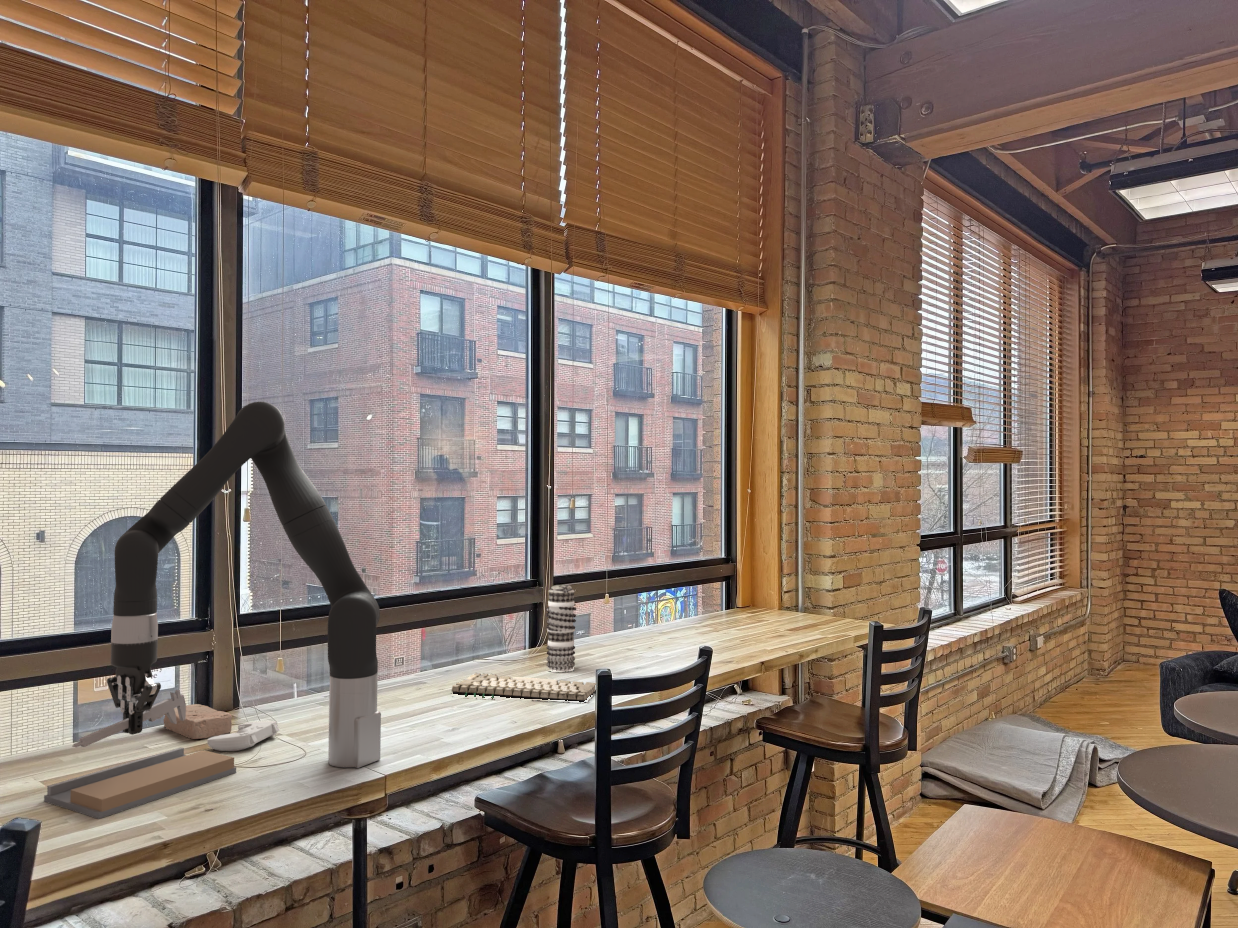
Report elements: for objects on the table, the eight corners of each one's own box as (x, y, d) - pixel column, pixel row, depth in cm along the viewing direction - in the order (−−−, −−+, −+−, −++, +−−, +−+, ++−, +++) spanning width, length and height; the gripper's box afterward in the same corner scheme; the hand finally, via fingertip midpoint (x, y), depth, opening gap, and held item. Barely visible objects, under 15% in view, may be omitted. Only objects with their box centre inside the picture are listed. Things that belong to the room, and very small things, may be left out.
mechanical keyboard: (601, 689, 234) (601, 677, 234) (586, 708, 215) (586, 694, 215) (470, 683, 241) (470, 671, 241) (444, 700, 222) (444, 687, 222)
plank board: (236, 772, 163) (236, 756, 163) (98, 818, 140) (99, 800, 141) (182, 759, 171) (183, 744, 171) (44, 801, 148) (44, 783, 148)
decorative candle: (579, 667, 259) (580, 584, 260) (571, 673, 250) (571, 588, 251) (550, 665, 262) (551, 583, 262) (541, 671, 253) (542, 587, 253)
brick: (161, 728, 193) (161, 707, 193) (198, 720, 200) (199, 700, 200) (195, 743, 183) (195, 721, 183) (233, 734, 189) (233, 713, 189)
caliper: (181, 720, 167) (182, 687, 167) (185, 721, 167) (186, 688, 167) (71, 748, 149) (72, 711, 149) (75, 749, 148) (76, 712, 149)
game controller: (243, 718, 190) (284, 711, 189) (247, 738, 190) (287, 731, 188) (200, 737, 176) (244, 729, 174) (204, 758, 176) (247, 751, 174)
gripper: (176, 638, 158) (174, 732, 158) (132, 631, 165) (130, 722, 164) (137, 645, 152) (134, 743, 151) (92, 637, 158) (90, 732, 158)
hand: (132, 732), depth 158 cm, fingers closed on caliper, 1 cm apart
